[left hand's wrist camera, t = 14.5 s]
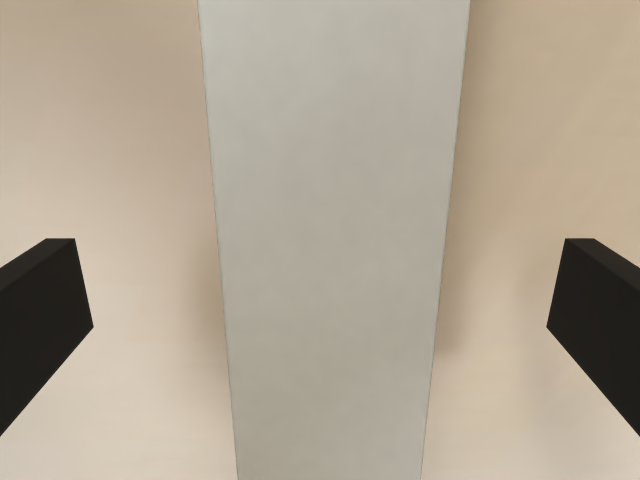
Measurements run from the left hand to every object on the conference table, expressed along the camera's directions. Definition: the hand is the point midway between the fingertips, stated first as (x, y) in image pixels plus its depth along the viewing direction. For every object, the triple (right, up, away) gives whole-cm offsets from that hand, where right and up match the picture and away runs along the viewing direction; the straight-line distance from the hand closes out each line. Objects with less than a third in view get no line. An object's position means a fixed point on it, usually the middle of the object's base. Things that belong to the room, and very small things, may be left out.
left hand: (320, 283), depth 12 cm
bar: (0, +30, -5) cm, 30 cm away
